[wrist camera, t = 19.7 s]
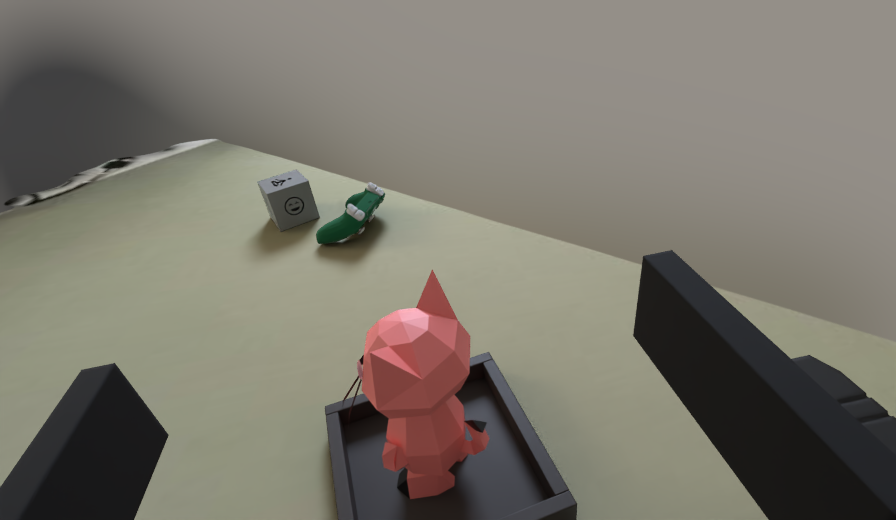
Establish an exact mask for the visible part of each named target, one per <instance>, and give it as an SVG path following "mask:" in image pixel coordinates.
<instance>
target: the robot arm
mask: <svg viewBox="0 0 896 520" xmlns="http://www.w3.org/2000/svg"><path fill="white" fill-rule="evenodd" d="M633 336H634V337H635V339H636V340H637V341H638V343H639V344H640V346H641V347H642V348H643V350H644V351H645V352H646V354H647V355H648V356H649V358H650V359H651V360H652V362H653V363H654V365H655V366H656V367H657V369H658V370H659V371H660V373H661V374H662V375H663V377H664V378H665V379H666V381H667V382H668V384H669V385H670V386H671V388H672V389H673V390H674V392H675V393H676V394H677V396H678V397H679V398H680V400H681V401H682V403H683V404H684V405H685V407H686V408H687V409H688V411H689V412H690V413H691V415H692V416H693V417H694V419H695V420H696V422H697V423H698V424H699V426H700V427H701V428H702V430H703V431H704V432H705V434H706V435H707V436H708V438H709V439H710V441H711V442H712V443H713V445H714V446H715V447H716V449H717V450H718V451H719V453H720V454H721V455H722V457H723V458H724V460H725V461H726V462H727V464H728V465H729V466H730V468H731V469H732V470H733V472H734V473H735V474H736V476H737V477H738V479H739V480H740V481H741V483H742V484H743V485H744V487H745V488H746V489H747V491H748V492H749V494H750V495H751V496H752V498H753V499H754V500H755V502H756V503H757V504H758V506H759V507H760V508H761V510H762V511H763V513H764V514H765V515H766V517H767V518H768V519H769V520H896V418H895V417H894V416H892V417H891V416H889V415H888V411H887V410H885V409H884V408H883V407H882V406H881V405H880V404H878V403H877V402H876V401H875V400H874V399H872V398H868V397H867V396H866V393H865V392H864V391H863V390H862V389H861V388H859V387H858V386H857V385H856V384H855V383H854V382H852V381H851V380H850V379H849V378H848V377H846V376H845V375H844V374H843V373H842V372H840V371H839V370H837V369H835V368H833V367H831V366H829V365H827V364H825V363H823V362H821V361H820V360H818V359H816V358H814V357H812V356H810V355H807V356H803V357H798V358H794V359H790V358H789V357H788V356H787V355H786V354H785V353H784V352H783V351H782V350H780V349H779V348H778V347H777V346H776V345H775V344H774V343H773V342H772V341H771V340H770V339H768V338H767V337H766V336H765V335H764V334H763V333H762V332H761V331H760V330H759V329H758V328H756V327H755V326H754V325H753V324H752V323H751V322H750V321H749V320H748V319H747V318H745V317H744V316H743V315H742V314H741V313H740V312H739V311H738V310H737V309H736V308H735V307H733V306H732V305H731V304H730V303H729V302H728V301H727V300H726V299H725V298H724V297H722V296H721V295H720V294H719V293H718V292H717V291H716V290H715V289H714V288H713V287H712V286H710V285H709V284H708V283H707V282H706V281H705V280H704V279H703V278H702V277H700V275H698V274H697V273H696V272H695V271H694V270H693V269H692V268H691V267H690V266H689V265H687V264H686V263H685V262H684V261H683V260H682V259H681V258H680V257H679V256H678V255H677V254H675V253H674V252H673V251H672V250H671V251H666V252H661V253H656V254H651V255H646V256H643V262H642V270H641V278H640V286H639V294H638V302H637V310H636V318H635V326H634V334H633ZM167 438H168V434H167V432H166V431H165V430H164V428H163V427H162V425H161V424H160V423H159V421H158V420H157V419H156V417H155V416H154V415H153V413H152V412H151V411H150V409H149V408H148V407H147V405H146V404H145V403H144V401H143V400H142V399H141V397H140V396H139V395H138V393H137V392H136V391H135V389H134V388H133V387H132V385H131V384H130V383H129V381H128V380H127V379H126V377H125V376H124V375H123V373H122V372H121V371H120V369H119V368H118V367H117V365H116V364H115V363H114V364H109V365H104V366H99V367H94V368H89V369H84V370H81V372H80V373H79V374H78V376H77V377H76V379H75V380H74V382H73V383H72V385H71V386H70V387H69V389H68V390H67V392H66V393H65V395H64V396H63V398H62V399H61V400H60V402H59V403H58V405H57V406H56V408H55V409H54V411H53V412H52V413H51V415H50V416H49V418H48V419H47V421H46V422H45V424H44V425H43V426H42V428H41V429H40V431H39V432H38V434H37V435H36V437H35V438H34V439H33V441H32V442H31V444H30V445H29V447H28V448H27V450H26V451H25V452H24V454H23V455H22V457H21V458H20V460H19V461H18V463H17V464H16V465H15V467H14V468H13V470H12V471H11V473H10V474H9V476H8V477H7V478H6V480H5V481H4V483H3V484H2V486H1V487H0V520H134V518H135V516H136V513H137V511H138V508H139V506H140V504H141V501H142V499H143V496H144V494H145V491H146V489H147V487H148V484H149V482H150V479H151V477H152V474H153V472H154V469H155V467H156V465H157V462H158V460H159V457H160V455H161V452H162V450H163V448H164V445H165V443H166V440H167Z"/></svg>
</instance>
